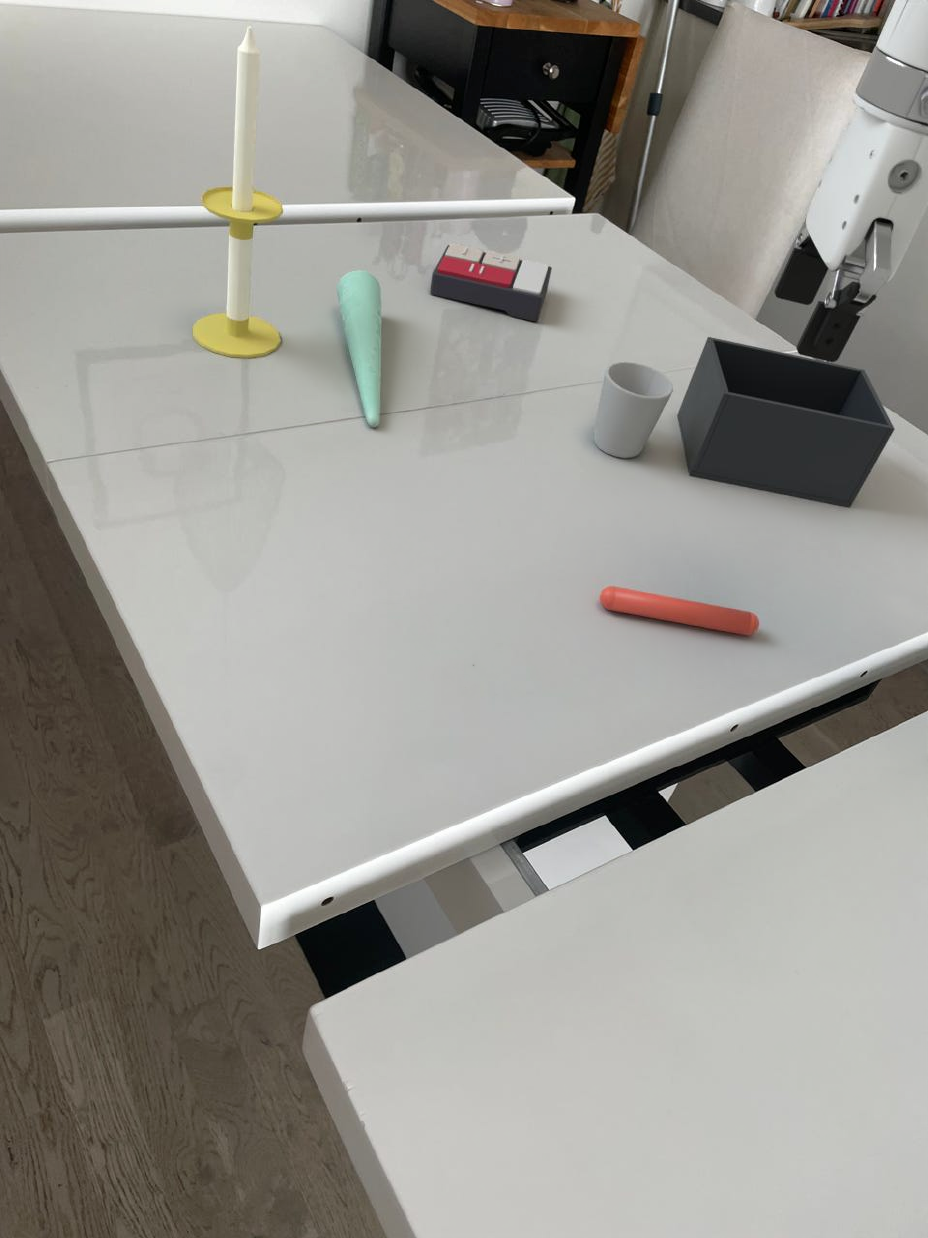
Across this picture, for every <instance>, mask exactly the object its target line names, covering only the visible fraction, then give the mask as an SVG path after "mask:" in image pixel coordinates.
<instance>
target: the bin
mask: <svg viewBox="0 0 928 1238" xmlns="http://www.w3.org/2000/svg"><path fill="white" fill-rule="evenodd" d="M866 372H867V371H866V370H865V369H863V368H857V367H852V366H848V365H842V364H838V363H834V362H829V361H825V360H820V359H816V358H811V357H806V356H802V355H795V354H791V353H788V352H787V353H786V352H782V351H776V350H772V349H767V348H762V347H758V346H753V345H749V344H745V343H739V342H735V341H730V340H726V339H720V338H716V337H711V336H707V338H706V341H705V343H704V345H703V347H702V351H701V353H700V356H699V358H698V361H697V364H696V366H695V368H694V371H693V373H692V376H691V379H690V381H689V384H688V386H687V389H686V392H685V394H684V397H683V399H682V402H681V403H680V404H681V405H680V406H679V409H678V413H677V414H676V415H677V421H678V426H679V430H680V435H681V441H682V445H683V449H684V454H685V459H686V463H687V464H686V465H687V469H688V474H689V476H691V477H695V478H701V479H705V480H711V481H715V482H721V483H726V484H730V485H736V486H741V487H745V488H751V489H755V490H760V491H766V492H771V493H776V494H780V495H787V496H791V497H797V498H800V499H807V500H811V501H816V502H822V503H826V504H832V505H835V506H836V505H837V506H840V507H841V506H842V507H846V508H851V507H852V505H853V503H854V502H855V500H856V498H857V496H858V495H859V493H860V491H861V490H862V488H863V486H864V485H865V483H866V481H867V479H868V477H869V475H870V473H871V472H872V470H873V468H874V467H875V465H876V463H877V461H878V460H879V458H880V456H881V454H882V452H883V451H884V449H885V447H886V446H887V444H888V442H889V440H890V439H891V437H892V435H893V433H894V431H895V430H896V428H895V426H894V424H893V423H892V420H891V418H890V417H889V415H888V412H887V411H886V409H885V407H884V406H883V405H884V404H883V403H882V401H881V399H880V398H879V395H878V393H877V392H876V390H875V388H874V386H873V384H872V382H871V379H870V378H869V376H868V373H866Z"/></svg>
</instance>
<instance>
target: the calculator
mask: <svg viewBox="0 0 928 1238" xmlns="http://www.w3.org/2000/svg"><path fill="white" fill-rule="evenodd" d="M551 275H552V266H550V265H549V264H548V263H542V262H538V261H533V260H528V259H521V257H520V256H517V255H513V254H507V253H503V252H499V251H493V250H487V251H484V249H483V248H479V247H476V246H475V247H474V246H470V245H465V244H462V243H457V242H450V244H448V245H447V246H446V248H445V249H444V251H443V253H442V254H441V257H440V259H439V261H438V263H437V264H436V266H435V268H434V269H433V271H432V275H431V281H430V291H429V293H430V295H431V296H435V297H441V298H446V299H450V300H455V301H459V302H464V303H468V304H473V305H478V306H482V307H487V308H490V309H491V308H492V309H496V310H500V311H504V312H506V313H507V314H508V315H509V317H511V318H512V317H513V318H515V319H516V318H517V319H522V320H525V321H526V320H527V321H531V322H535V323H536V322H538V321H539V319H540V316H541V313H542V310H543V307H544V303H545V299H546V296H547V292H548V289H549V284H550V280H551V279H550V278H551Z"/></svg>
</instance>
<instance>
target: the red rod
mask: <svg viewBox="0 0 928 1238" xmlns="http://www.w3.org/2000/svg"><path fill="white" fill-rule="evenodd" d="M599 602H600V605H601V606H602V607H603V608H604V609H606V610H608V611H614V612H619V613H623V614H624V613H625V614H630V615H634V616H640V617H645V618H646V617H647V618H651V619H656V620H661V621H667V622H672V623H678V624H683V625H688V626H694V627H700V628H705V629H710V630H715V631H720V632H725V633H732V634H736V635H743V636H751V635H753V634H755V633H756V632H757V631H758V629H759V627H760V619H759V617H758V616H757V615H756V614H755V613H754V612H752V611H747V610H742V609H738V608H737V609H736V608H730V607H727V606H720V605H715V604H710V603H704V602H699V601H694V600H689V599H683V598H679V597H672V596H667V595H662V594H656V593H651V592H647V591H641V590H636V589H630V588H625V587H620V586H615V585H614V586H612V585H610V586H606V587H604V589H602V590H601V592H600V594H599Z"/></svg>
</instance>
